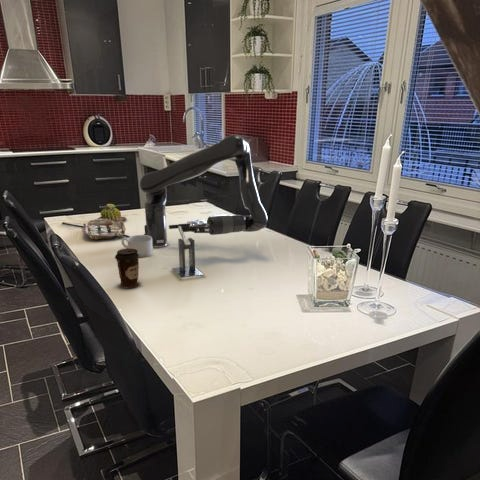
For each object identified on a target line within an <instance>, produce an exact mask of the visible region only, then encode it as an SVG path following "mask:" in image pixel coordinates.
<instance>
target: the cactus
mask: <svg viewBox="0 0 480 480" xmlns="http://www.w3.org/2000/svg"><path fill="white" fill-rule="evenodd" d="M97 219H111V220H112V221H114V222H116V223H117V222H119V221H123V222H125V221H126V220H127V217H126V216H122V213H121V211H120V210H119V209H118V208H116V205H115V204H113V203H107V204H106V207H104V208H103V209H102V210H101V211H100V216H99V217H98V218H97Z"/></svg>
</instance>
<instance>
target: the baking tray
mask: <svg viewBox="0 0 480 480" xmlns="http://www.w3.org/2000/svg"><path fill="white" fill-rule="evenodd" d="M83 226H84V228H82V229H81V232H83V233H84V234H86V235H87V236H88V237H89V238H90V239H91V240H97V241H98V240H107V239H114V238H115V237H117V238H118V239H119V238H121V237H123V236H122V235H126V232H125V231H127V228H126V226H125V221H119V222H117V223H116V222H114V221H112V220H111V219H98V218H96V219H92V220H89V222H86V223H83ZM98 228H99V229H100V230H98ZM108 230H109V231H111V233H110V232H108Z"/></svg>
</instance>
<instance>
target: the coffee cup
mask: <svg viewBox="0 0 480 480" xmlns="http://www.w3.org/2000/svg"><path fill="white" fill-rule="evenodd" d="M137 252H138V251H137V250H136V249H129V248H121V249H118V250H117V251H116V254H115V255H114V258H115V260H116V263H117V270H118V275H119V279H120V287H121V288H125V289H131V288H132V289H133V288H136V287H138V286H139V282H138V280H139V274H140V273H139V271H140V270H139V268H140V267H139V266H140V264H139V263H140V262H139V258H138V257H139V254H138V253H137Z"/></svg>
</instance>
